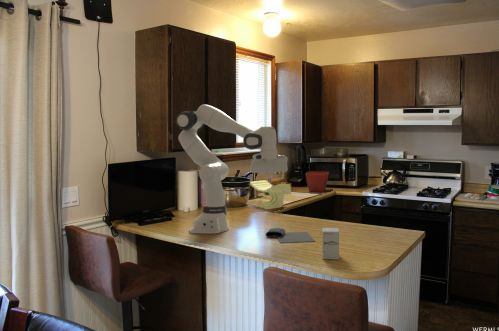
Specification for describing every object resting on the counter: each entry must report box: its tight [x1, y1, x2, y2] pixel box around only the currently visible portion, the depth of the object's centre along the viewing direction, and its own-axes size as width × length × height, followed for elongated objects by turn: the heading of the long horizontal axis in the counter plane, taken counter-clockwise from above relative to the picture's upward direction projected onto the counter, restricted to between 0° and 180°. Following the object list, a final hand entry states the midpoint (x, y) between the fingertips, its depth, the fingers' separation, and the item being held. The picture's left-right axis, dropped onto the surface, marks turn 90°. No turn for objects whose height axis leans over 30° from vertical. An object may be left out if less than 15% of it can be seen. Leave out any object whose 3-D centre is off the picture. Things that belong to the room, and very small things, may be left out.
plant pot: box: [305, 171, 330, 193], centre depth 388 cm, size 19×19×17 cm
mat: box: [276, 231, 316, 244], centre depth 230 cm, size 18×20×1 cm
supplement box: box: [321, 227, 340, 260], centre depth 194 cm, size 7×7×13 cm
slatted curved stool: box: [249, 180, 292, 210], centre depth 320 cm, size 30×16×18 cm, turn 31°
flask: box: [265, 227, 286, 238], centre depth 236 cm, size 9×3×11 cm
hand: (269, 180), depth 240 cm, fingers closed
